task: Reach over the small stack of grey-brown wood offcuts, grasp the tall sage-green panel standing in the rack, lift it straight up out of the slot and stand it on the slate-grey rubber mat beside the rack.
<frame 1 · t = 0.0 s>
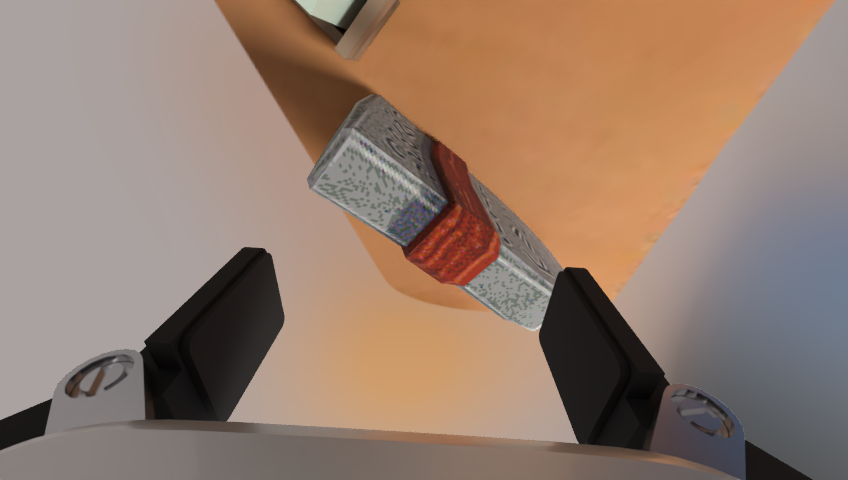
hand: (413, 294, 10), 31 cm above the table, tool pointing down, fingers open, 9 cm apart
decorative stone tablet: (457, 188, 41), on the table
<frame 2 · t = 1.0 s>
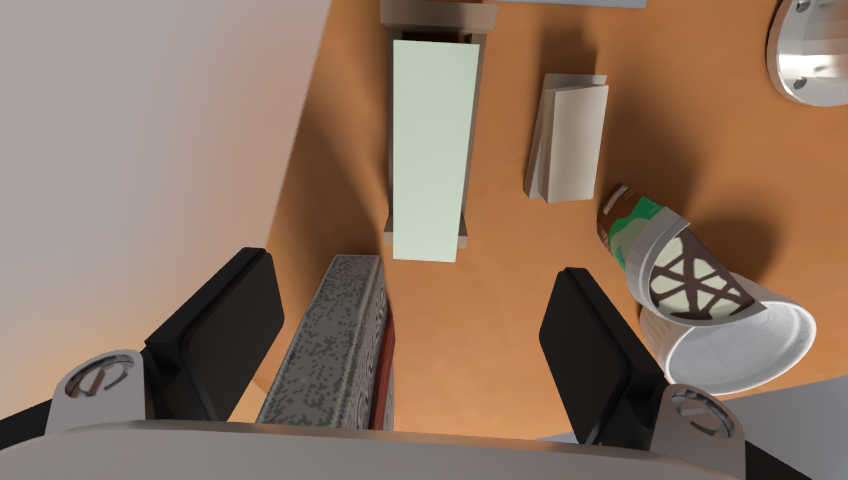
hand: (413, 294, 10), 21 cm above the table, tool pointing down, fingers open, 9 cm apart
food container: (619, 232, 33), on the table
ramekin: (686, 305, 37), on the table
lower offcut: (554, 136, 28), on the table, touching upper offcut
upper offcut: (563, 142, 26), point 2 cm above the table, touching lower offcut
rack: (431, 131, 28), on the table
sheet: (431, 130, 28), resting in rack
decorative stone tablet: (372, 342, 41), on the table
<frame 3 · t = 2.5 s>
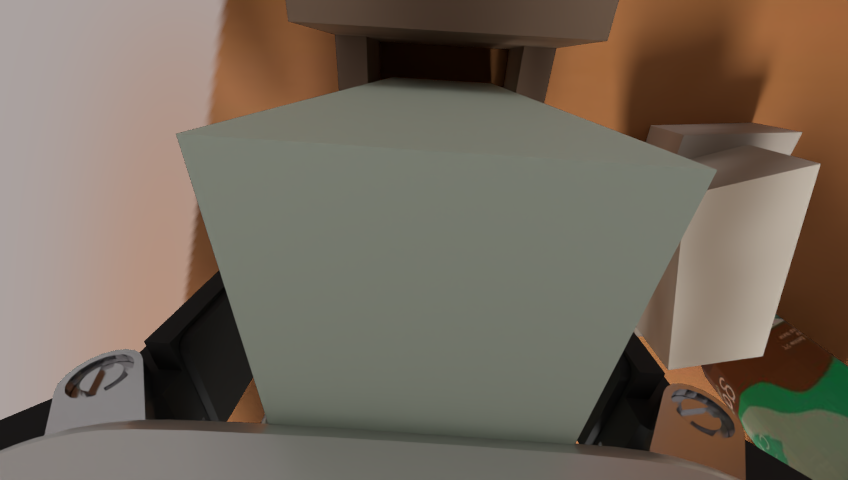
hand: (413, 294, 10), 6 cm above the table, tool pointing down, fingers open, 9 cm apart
food container: (737, 365, 20), on the table
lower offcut: (656, 227, 16), on the table, touching upper offcut
upper offcut: (683, 251, 14), point 2 cm above the table, touching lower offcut
rack: (431, 215, 16), on the table
sheet: (431, 214, 16), resting in rack
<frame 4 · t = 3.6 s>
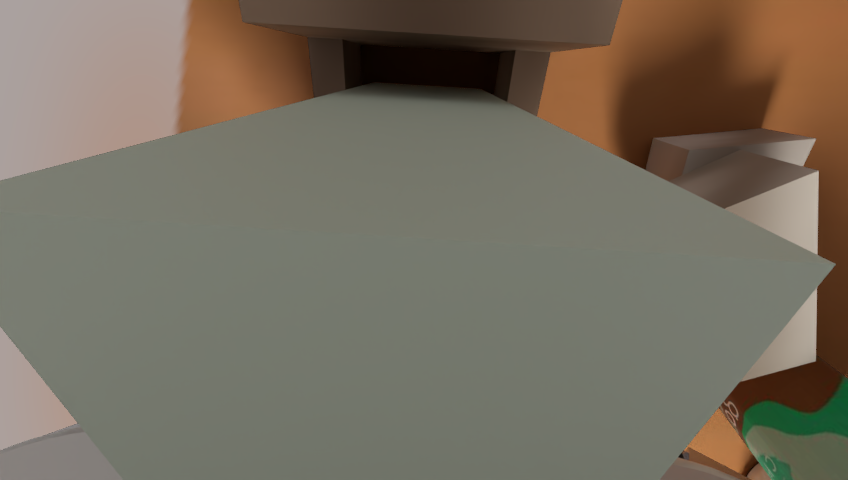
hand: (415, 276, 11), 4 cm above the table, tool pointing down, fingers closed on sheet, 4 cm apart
food container: (739, 378, 19), on the table
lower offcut: (664, 238, 15), on the table, touching upper offcut
upper offcut: (699, 262, 13), point 2 cm above the table, touching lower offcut
rack: (420, 228, 15), on the table
sheet: (419, 227, 15), resting in rack, touching gripper
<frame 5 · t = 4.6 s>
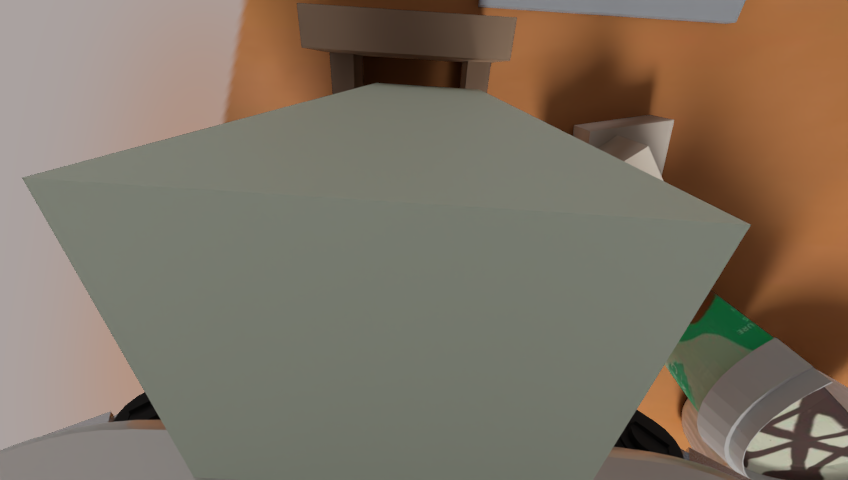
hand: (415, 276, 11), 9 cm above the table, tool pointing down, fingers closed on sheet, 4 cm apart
food container: (664, 317, 24), on the table
ramekin: (740, 397, 29), on the table
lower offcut: (595, 201, 20), on the table, touching upper offcut
upper offcut: (614, 216, 18), point 2 cm above the table, touching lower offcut
rack: (408, 194, 19), on the table
sheet: (419, 224, 15), point 5 cm above the table, touching gripper
when the fingers open (5 cm above the table, at t = 10.1 s): sheet stays where it is, resting on mat.
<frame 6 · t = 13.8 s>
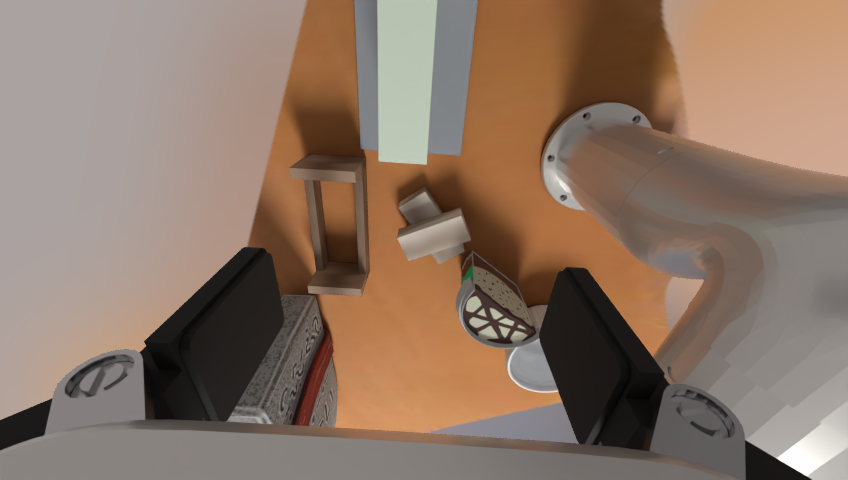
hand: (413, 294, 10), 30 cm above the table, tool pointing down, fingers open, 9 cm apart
food container: (479, 279, 47), on the table
ramekin: (538, 328, 52), on the table
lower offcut: (432, 222, 43), on the table, touching upper offcut
upper offcut: (434, 230, 41), point 2 cm above the table, touching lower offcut
rack: (342, 217, 43), on the table
mat: (413, 77, 34), on the table
sheet: (414, 77, 34), resting on mat
decorative stone tablet: (318, 352, 56), on the table
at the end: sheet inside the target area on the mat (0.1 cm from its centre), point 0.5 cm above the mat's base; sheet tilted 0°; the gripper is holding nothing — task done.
